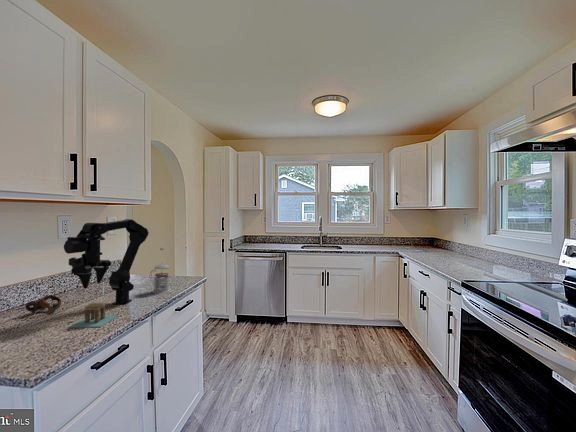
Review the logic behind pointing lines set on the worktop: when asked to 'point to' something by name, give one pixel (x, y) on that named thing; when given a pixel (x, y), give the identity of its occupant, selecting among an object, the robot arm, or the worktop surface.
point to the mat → (92, 322)
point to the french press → (160, 279)
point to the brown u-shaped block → (95, 312)
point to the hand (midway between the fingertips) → (92, 285)
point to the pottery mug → (43, 304)
